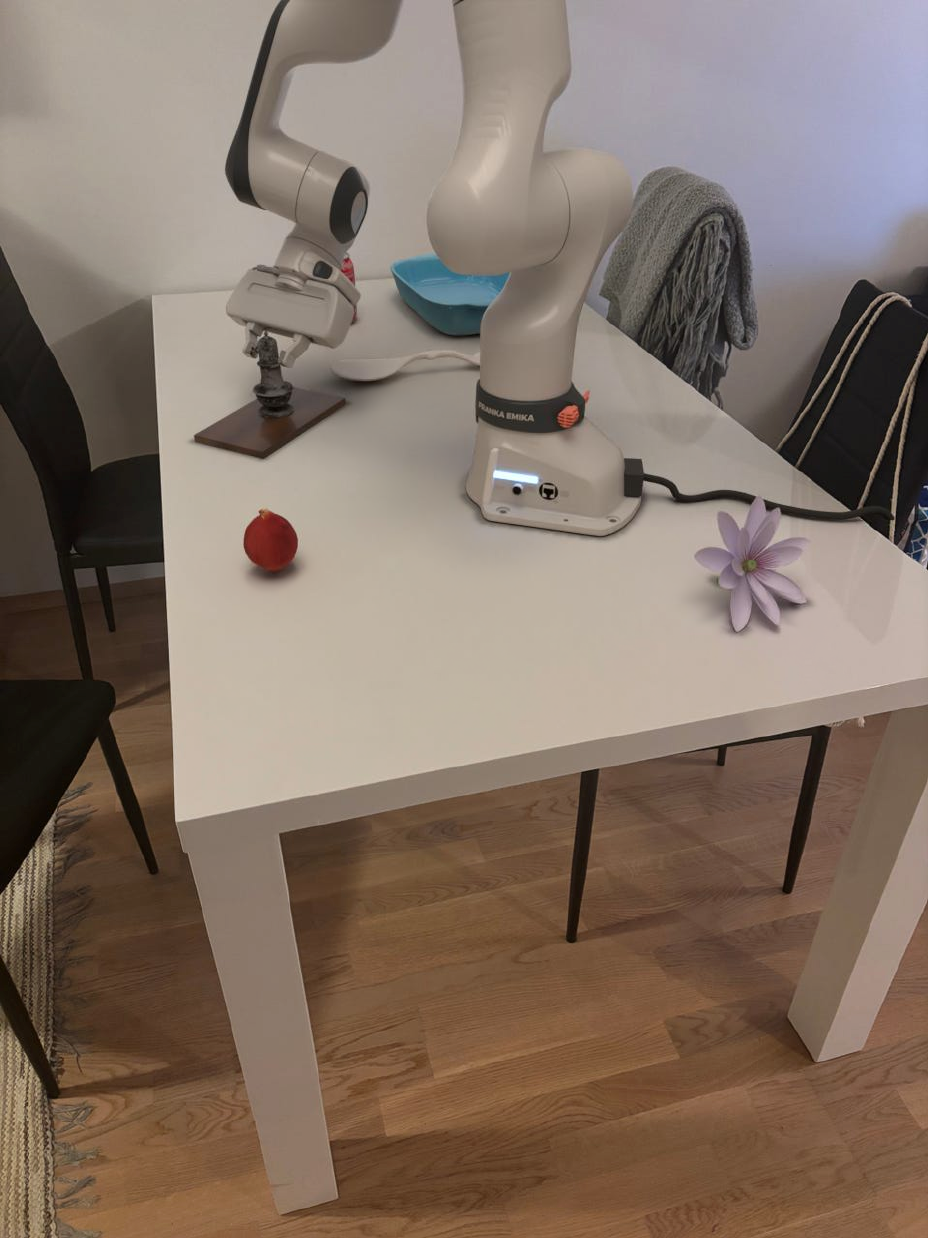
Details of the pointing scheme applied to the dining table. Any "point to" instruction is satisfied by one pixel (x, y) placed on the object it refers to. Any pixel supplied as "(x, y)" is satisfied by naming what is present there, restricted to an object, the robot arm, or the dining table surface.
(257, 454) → the walnut board
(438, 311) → the casserole dish
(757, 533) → the water lily
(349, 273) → the soda can
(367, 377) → the spoon
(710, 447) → the dining table surface
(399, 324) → the dining table surface
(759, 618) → the dining table surface
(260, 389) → the grey chess piece
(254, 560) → the onion
